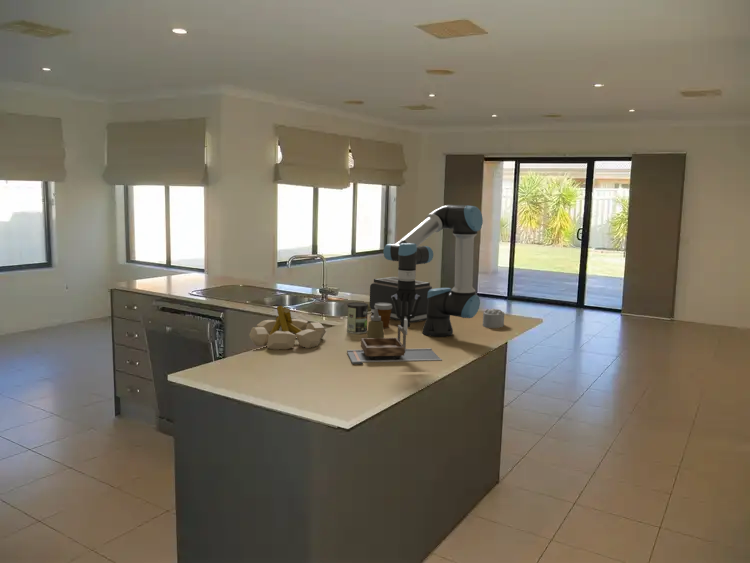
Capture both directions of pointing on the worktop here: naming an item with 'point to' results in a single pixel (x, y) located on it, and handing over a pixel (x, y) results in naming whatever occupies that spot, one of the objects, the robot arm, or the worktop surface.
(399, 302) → the toaster
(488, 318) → the lumpy-topped squat cylinder
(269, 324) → the campfire
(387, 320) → the disposable coffee cup
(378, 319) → the squeeze bottle
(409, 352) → the track
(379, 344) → the cart
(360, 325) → the coffee can
